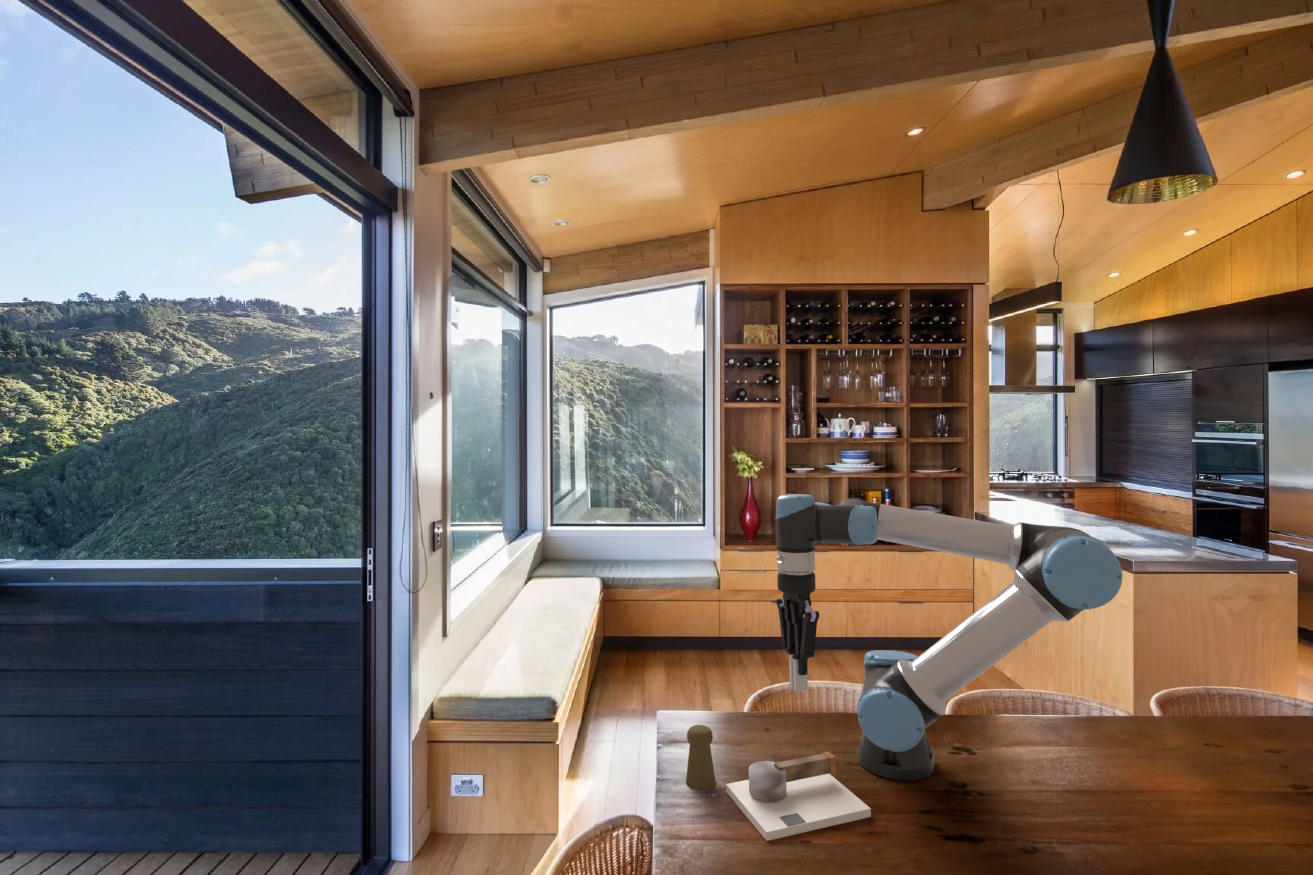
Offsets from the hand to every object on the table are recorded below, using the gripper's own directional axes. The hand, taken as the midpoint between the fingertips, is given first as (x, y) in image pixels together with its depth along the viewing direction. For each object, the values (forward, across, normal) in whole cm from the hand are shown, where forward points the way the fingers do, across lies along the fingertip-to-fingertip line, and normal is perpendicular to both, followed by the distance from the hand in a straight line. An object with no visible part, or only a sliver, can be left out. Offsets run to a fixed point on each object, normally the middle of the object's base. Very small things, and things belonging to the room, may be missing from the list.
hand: (798, 687), depth 134 cm
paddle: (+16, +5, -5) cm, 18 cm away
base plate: (+18, +8, -6) cm, 21 cm away
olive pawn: (+19, -6, -19) cm, 27 cm away
